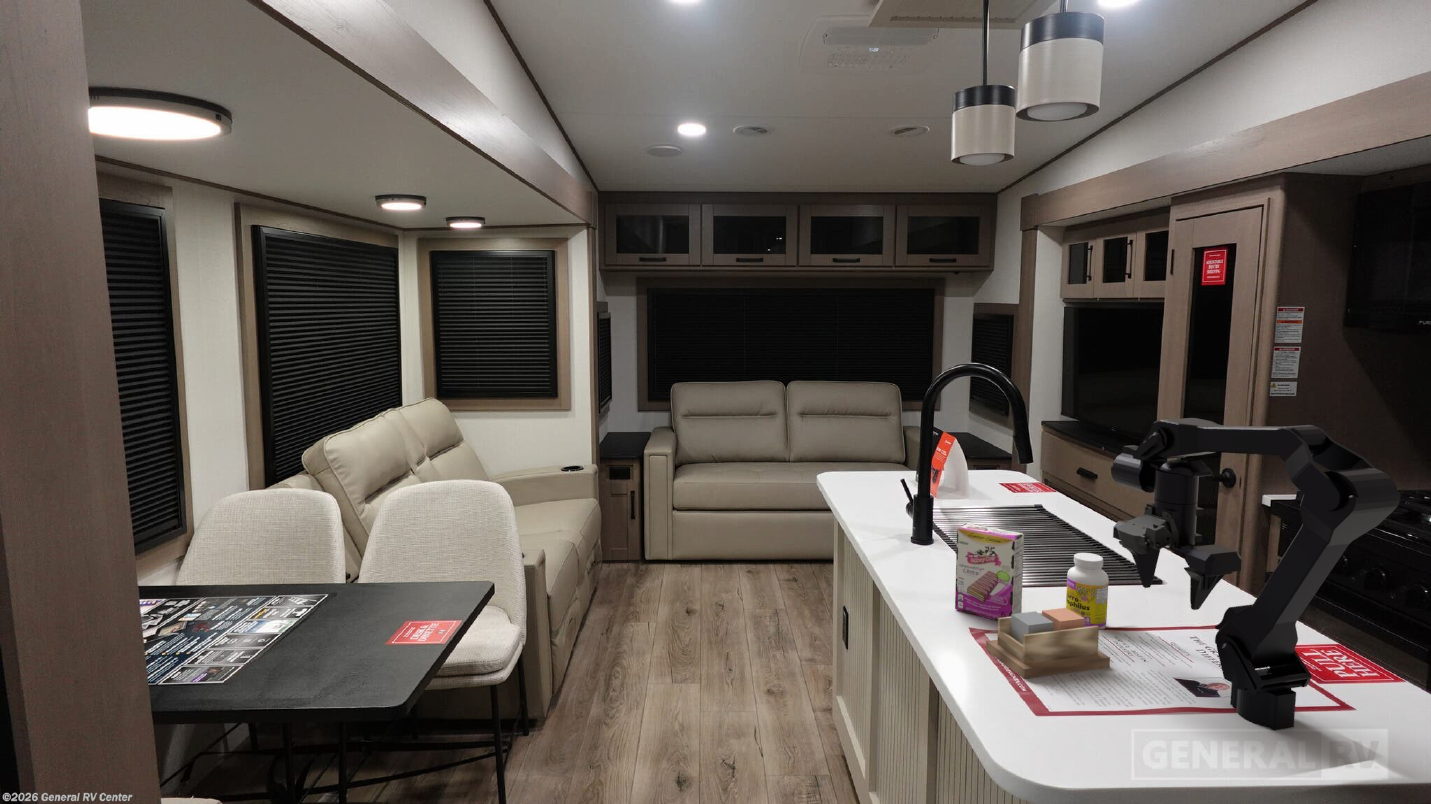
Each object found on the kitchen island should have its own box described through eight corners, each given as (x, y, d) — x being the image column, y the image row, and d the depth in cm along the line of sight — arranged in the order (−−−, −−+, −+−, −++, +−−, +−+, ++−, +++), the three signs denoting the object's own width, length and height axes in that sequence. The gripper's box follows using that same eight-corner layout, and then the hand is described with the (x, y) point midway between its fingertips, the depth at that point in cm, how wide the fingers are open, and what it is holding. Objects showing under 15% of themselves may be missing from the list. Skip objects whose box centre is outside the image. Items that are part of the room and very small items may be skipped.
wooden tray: (1067, 635, 121) (1068, 609, 121) (1097, 654, 115) (1098, 626, 114) (997, 644, 119) (998, 618, 118) (1024, 664, 112) (1025, 636, 111)
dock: (1109, 676, 114) (1110, 657, 114) (1023, 688, 111) (1024, 669, 110) (1065, 648, 124) (1066, 631, 123) (986, 658, 120) (986, 641, 120)
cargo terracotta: (1083, 642, 115) (1084, 618, 115) (1059, 645, 115) (1060, 621, 114) (1065, 631, 120) (1065, 607, 119) (1041, 634, 119) (1042, 610, 118)
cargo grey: (1052, 646, 114) (1053, 622, 114) (1027, 650, 113) (1028, 625, 113) (1034, 635, 119) (1035, 611, 118) (1010, 638, 118) (1011, 614, 117)
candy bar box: (953, 610, 140) (955, 527, 138) (965, 602, 144) (966, 521, 142) (1012, 626, 133) (1014, 538, 131) (1022, 617, 136) (1025, 532, 134)
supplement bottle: (1057, 621, 134) (1059, 554, 133) (1083, 615, 137) (1085, 548, 135) (1088, 636, 128) (1091, 565, 127) (1115, 628, 131) (1118, 559, 129)
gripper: (1086, 489, 119) (1082, 582, 121) (1181, 520, 101) (1175, 628, 103) (1144, 485, 121) (1140, 575, 123) (1247, 514, 103) (1240, 620, 105)
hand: (1169, 598), depth 114 cm, fingers open, 9 cm apart
